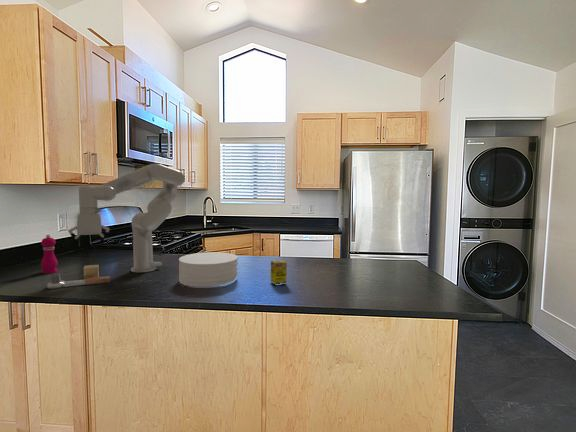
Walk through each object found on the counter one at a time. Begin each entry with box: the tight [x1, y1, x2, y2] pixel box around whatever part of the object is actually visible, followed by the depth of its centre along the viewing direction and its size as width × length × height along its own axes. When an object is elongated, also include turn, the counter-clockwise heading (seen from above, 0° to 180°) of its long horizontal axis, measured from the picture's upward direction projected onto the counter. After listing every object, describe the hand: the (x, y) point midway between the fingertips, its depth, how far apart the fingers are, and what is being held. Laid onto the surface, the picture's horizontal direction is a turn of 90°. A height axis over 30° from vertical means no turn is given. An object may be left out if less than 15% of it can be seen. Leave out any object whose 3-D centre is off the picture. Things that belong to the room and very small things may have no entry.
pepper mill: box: [40, 234, 59, 275], centre depth 166 cm, size 7×7×20 cm
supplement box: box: [269, 260, 288, 284], centre depth 151 cm, size 6×6×11 cm
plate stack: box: [178, 251, 239, 286], centre depth 156 cm, size 28×28×12 cm
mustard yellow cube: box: [83, 264, 100, 280], centre depth 156 cm, size 6×6×6 cm
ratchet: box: [46, 273, 111, 290], centre depth 146 cm, size 24×6×6 cm, turn 119°
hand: (90, 246), depth 155 cm, fingers open, 9 cm apart
